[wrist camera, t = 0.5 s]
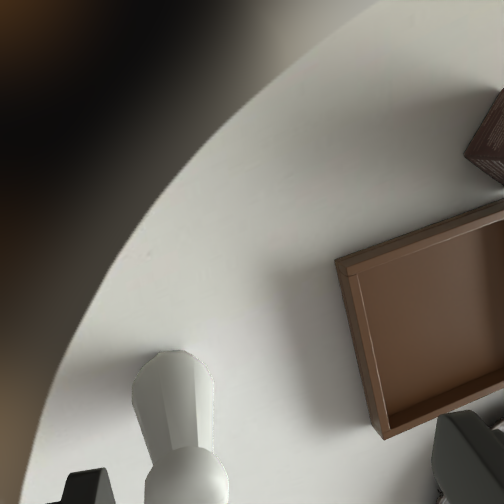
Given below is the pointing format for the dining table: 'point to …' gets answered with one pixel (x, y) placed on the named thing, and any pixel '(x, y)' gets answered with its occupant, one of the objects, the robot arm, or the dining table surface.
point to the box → (490, 142)
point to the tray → (428, 318)
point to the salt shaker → (179, 430)
